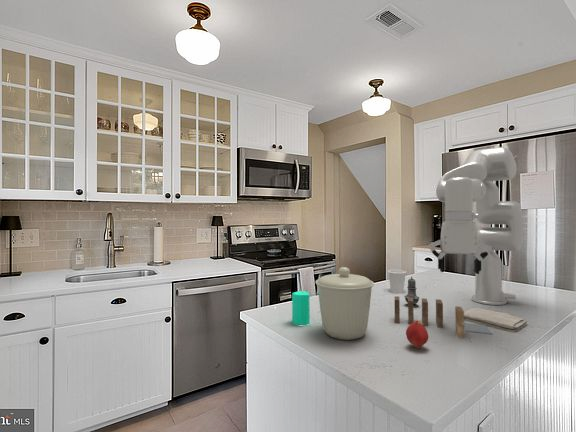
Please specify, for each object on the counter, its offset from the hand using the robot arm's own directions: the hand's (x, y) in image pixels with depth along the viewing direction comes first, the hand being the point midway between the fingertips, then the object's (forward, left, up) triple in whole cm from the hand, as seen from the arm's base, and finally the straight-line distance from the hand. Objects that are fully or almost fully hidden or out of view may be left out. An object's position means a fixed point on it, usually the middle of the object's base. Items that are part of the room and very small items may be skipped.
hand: (459, 272), depth 98 cm
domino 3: (+9, -7, -19) cm, 23 cm away
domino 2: (+14, -7, -19) cm, 25 cm away
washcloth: (-13, -17, -20) cm, 29 cm away
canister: (+34, +11, -20) cm, 41 cm away
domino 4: (+5, -7, -19) cm, 21 cm away
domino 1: (+18, -7, -19) cm, 28 cm away
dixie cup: (+19, -51, -20) cm, 58 cm away
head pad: (-6, -7, -19) cm, 21 cm away
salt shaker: (+13, -28, -20) cm, 37 cm away
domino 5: (0, 0, -19) cm, 19 cm away
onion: (+13, +15, -20) cm, 28 cm away
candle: (+50, +6, -20) cm, 54 cm away
